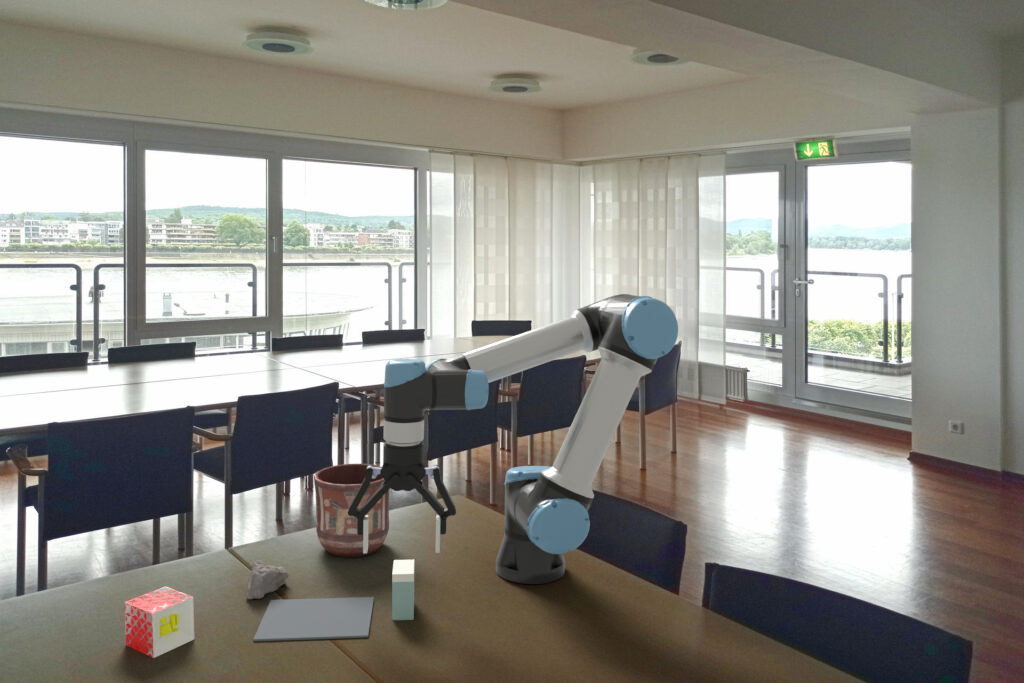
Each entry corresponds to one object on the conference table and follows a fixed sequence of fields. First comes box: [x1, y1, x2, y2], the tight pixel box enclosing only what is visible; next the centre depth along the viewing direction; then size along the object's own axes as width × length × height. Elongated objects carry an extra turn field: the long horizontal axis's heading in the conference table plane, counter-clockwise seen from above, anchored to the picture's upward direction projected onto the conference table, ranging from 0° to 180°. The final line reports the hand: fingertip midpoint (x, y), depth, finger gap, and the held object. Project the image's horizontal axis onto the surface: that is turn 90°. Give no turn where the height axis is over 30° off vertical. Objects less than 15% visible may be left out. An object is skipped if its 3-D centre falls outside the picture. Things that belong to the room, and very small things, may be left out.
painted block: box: [391, 559, 415, 621], centre depth 152 cm, size 4×7×9 cm, turn 6°
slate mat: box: [252, 596, 375, 642], centre depth 148 cm, size 20×16×1 cm
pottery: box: [313, 463, 390, 558], centre depth 183 cm, size 18×18×18 cm
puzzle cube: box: [124, 586, 195, 659], centre depth 138 cm, size 8×8×8 cm
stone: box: [245, 559, 290, 600], centre depth 160 cm, size 10×8×6 cm
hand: (401, 550), depth 151 cm, fingers open, 13 cm apart
